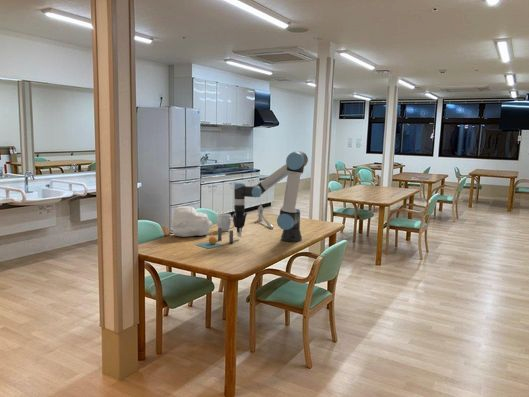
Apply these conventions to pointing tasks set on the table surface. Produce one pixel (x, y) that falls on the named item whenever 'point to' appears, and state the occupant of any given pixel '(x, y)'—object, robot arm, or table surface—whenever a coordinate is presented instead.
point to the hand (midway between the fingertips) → (239, 236)
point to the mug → (224, 221)
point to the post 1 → (219, 234)
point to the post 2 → (230, 237)
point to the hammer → (260, 215)
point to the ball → (212, 240)
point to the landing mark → (209, 245)
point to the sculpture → (190, 222)
